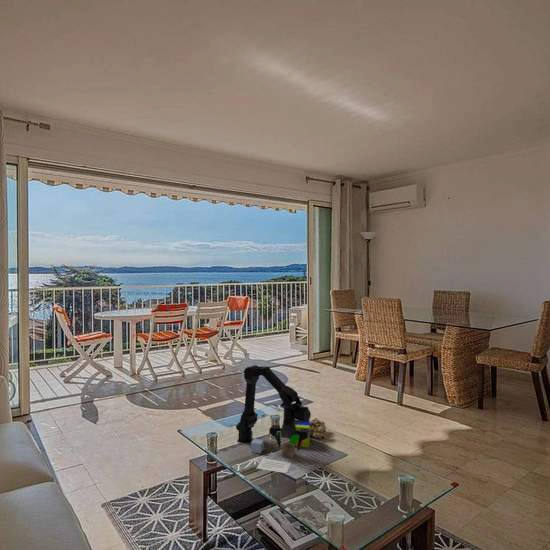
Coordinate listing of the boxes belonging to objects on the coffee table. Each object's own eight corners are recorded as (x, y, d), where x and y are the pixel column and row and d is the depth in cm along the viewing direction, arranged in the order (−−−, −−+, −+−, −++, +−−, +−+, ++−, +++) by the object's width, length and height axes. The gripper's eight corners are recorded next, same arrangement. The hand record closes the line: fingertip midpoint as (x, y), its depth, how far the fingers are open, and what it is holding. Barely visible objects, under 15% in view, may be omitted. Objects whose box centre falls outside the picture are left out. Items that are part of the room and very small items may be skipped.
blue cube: (250, 452, 198) (251, 442, 198) (254, 448, 203) (254, 438, 203) (260, 454, 197) (260, 444, 197) (263, 449, 202) (263, 439, 202)
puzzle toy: (309, 439, 215) (309, 420, 215) (309, 447, 205) (309, 428, 205) (290, 438, 216) (290, 419, 216) (289, 446, 206) (289, 426, 206)
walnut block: (282, 457, 194) (282, 447, 194) (284, 452, 199) (284, 442, 199) (292, 458, 193) (292, 448, 193) (294, 454, 198) (294, 444, 198)
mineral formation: (298, 436, 218) (310, 425, 231) (321, 446, 212) (332, 434, 225) (300, 422, 217) (312, 412, 230) (323, 431, 211) (334, 421, 224)
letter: (256, 468, 182) (256, 468, 182) (262, 458, 192) (262, 458, 192) (286, 473, 179) (286, 473, 179) (291, 463, 188) (291, 462, 188)
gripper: (266, 420, 190) (265, 453, 190) (305, 425, 185) (304, 459, 186) (272, 412, 201) (272, 443, 201) (309, 417, 196) (309, 448, 196)
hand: (288, 449), depth 196 cm, fingers open, 9 cm apart
